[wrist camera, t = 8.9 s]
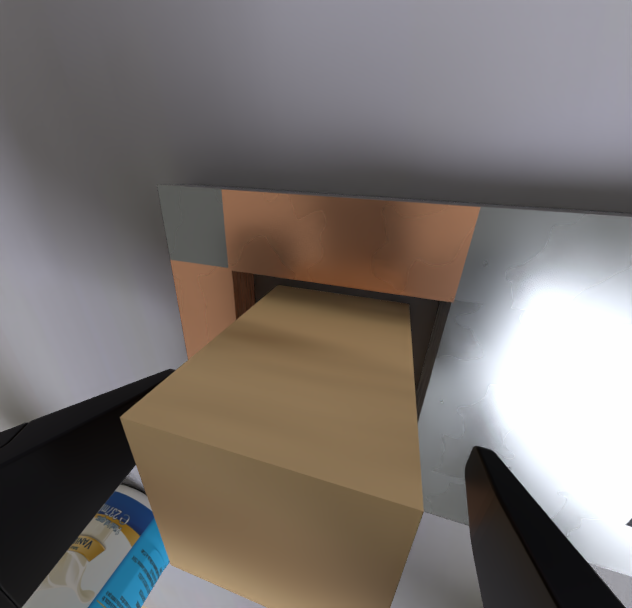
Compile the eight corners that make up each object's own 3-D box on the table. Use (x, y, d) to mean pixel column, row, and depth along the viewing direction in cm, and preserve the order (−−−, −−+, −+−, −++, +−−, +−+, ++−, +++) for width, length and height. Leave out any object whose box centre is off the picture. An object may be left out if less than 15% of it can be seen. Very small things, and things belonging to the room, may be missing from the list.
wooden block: (387, 408, 12) (373, 654, 6) (279, 383, 13) (171, 564, 7) (408, 303, 10) (423, 511, 4) (278, 284, 11) (120, 417, 5)
